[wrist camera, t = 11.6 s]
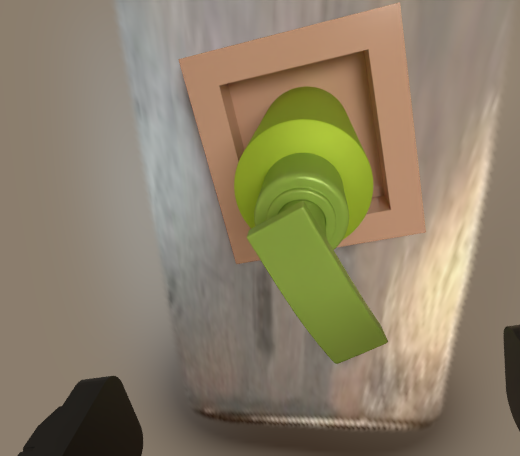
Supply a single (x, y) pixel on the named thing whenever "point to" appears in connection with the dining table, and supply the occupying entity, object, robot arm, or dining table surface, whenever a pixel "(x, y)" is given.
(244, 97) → the tray
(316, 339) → the green pump bottle
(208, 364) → the dining table surface
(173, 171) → the dining table surface
